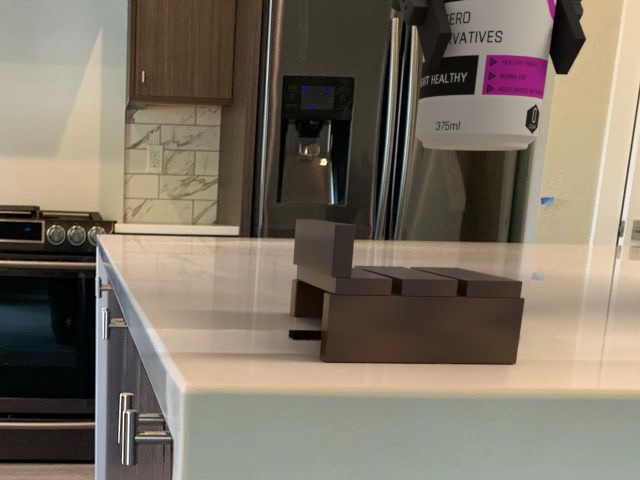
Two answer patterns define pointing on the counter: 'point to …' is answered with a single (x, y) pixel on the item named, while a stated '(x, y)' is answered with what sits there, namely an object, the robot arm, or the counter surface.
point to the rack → (399, 306)
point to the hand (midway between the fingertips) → (505, 54)
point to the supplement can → (487, 77)
